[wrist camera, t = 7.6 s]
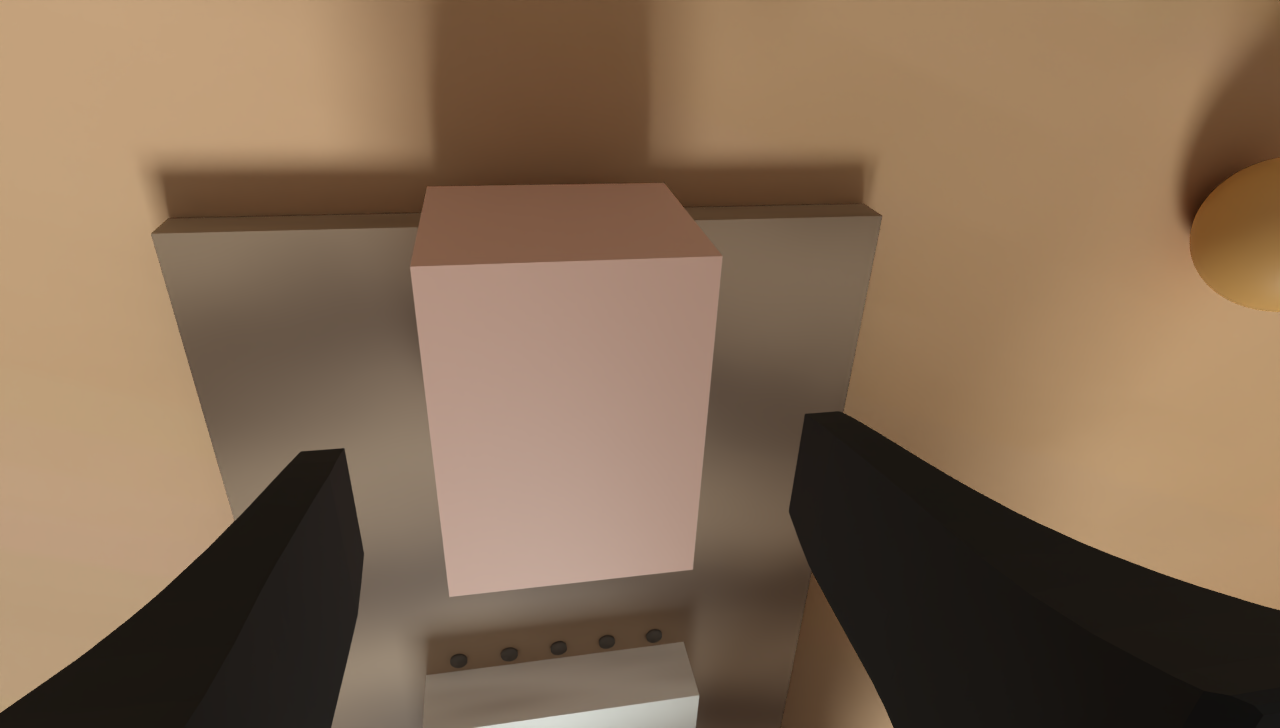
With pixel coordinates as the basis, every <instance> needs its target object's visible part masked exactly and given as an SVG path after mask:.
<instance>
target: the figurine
mask: <svg viewBox="0 0 1280 728" xmlns="http://www.w3.org/2000/svg"><path fill="white" fill-rule="evenodd" d="M1190 252H1191V257H1192V260H1193V263H1194V266H1195V268H1196V270H1197V272H1198V273H1199V275H1200V276H1201V278H1202V279H1203V280H1204V281H1205V283H1206V284H1207V285H1208V286H1209V287H1210V288H1211V289H1213V290H1214V291H1215V292H1216V293H1218V294H1219V295H1221V296H1222V297H1224V298H1226V299H1228V300H1229V301H1232V302H1234V303H1236V304H1239V305H1241V306H1244V307H1248V308H1252V309H1256V310H1262V311H1272V312H1280V157H1279V158H1274V159H1270V160H1266V161H1263V162H1260V163H1257V164H1254V165H1252V166H1249V167H1247V168H1245V169H1243V170H1241V171H1239V172H1237V173H1236V174H1234V175H1232V176H1231V177H1229V178H1228V179H1226V180H1225V181H1224V182H1222V183H1221V184H1220V185H1219V186H1218V187H1217V188H1215V189H1214V190H1213V191H1212V192H1211V194H1210V195H1209V196H1208V197H1207V198H1206V199H1205V201H1204V202H1203V204H1202V205H1201V207H1200V208H1199V210H1198V212H1197V214H1196V216H1195V218H1194V221H1193V224H1192V228H1191V232H1190Z"/></svg>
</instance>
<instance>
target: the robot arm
mask: <svg viewBox="0 0 1280 728" xmlns="http://www.w3.org/2000/svg"><path fill="white" fill-rule="evenodd" d="M789 514H790V517H791V520H792V523H793V525H794V528H795V531H796V534H797V537H798V539H799V542H800V545H801V547H802V550H803V552H804V555H805V557H806V560H807V562H808V565H809V567H810V568H811V570H812V572H813V574H814V576H815V578H816V580H817V582H818V584H819V585H820V587H821V589H822V591H823V593H824V595H825V597H826V598H827V600H828V602H829V604H830V606H831V608H832V610H833V611H834V613H835V615H836V617H837V619H838V620H839V622H840V624H841V626H842V628H843V629H844V631H845V633H846V635H847V637H848V639H849V640H850V642H851V644H852V646H853V648H854V649H855V651H856V653H857V655H858V657H859V658H860V660H861V662H862V664H863V666H864V668H865V669H866V671H867V673H868V675H869V677H870V678H871V680H872V682H873V684H874V686H875V688H876V690H877V692H878V694H879V696H880V698H881V700H882V702H883V704H884V706H885V709H886V711H887V713H888V716H889V718H890V720H891V723H892V725H893V727H894V728H1280V610H1276V609H1272V608H1269V607H1265V606H1261V605H1258V604H1254V603H1251V602H1248V601H1244V600H1241V599H1238V598H1235V597H1231V596H1228V595H1225V594H1222V593H1218V592H1215V591H1212V590H1209V589H1205V588H1202V587H1199V586H1196V585H1193V584H1190V583H1187V582H1184V581H1181V580H1178V579H1175V578H1172V577H1169V576H1166V575H1164V574H1161V573H1158V572H1155V571H1153V570H1150V569H1147V568H1145V567H1142V566H1139V565H1137V564H1134V563H1131V562H1129V561H1126V560H1123V559H1121V558H1118V557H1116V556H1113V555H1110V554H1108V553H1105V552H1103V551H1100V550H1098V549H1096V548H1093V547H1091V546H1088V545H1086V544H1083V543H1081V542H1079V541H1076V540H1074V539H1072V538H1070V537H1068V536H1066V535H1063V534H1061V533H1059V532H1057V531H1055V530H1052V529H1050V528H1048V527H1046V526H1044V525H1041V524H1039V523H1037V522H1035V521H1033V520H1031V519H1029V518H1027V517H1025V516H1023V515H1021V514H1018V513H1016V512H1014V511H1013V510H1011V509H1009V508H1007V507H1005V506H1003V505H1001V504H999V503H997V502H996V501H994V500H992V499H990V498H988V497H986V496H984V495H983V494H981V493H979V492H977V491H975V490H973V489H971V488H970V487H968V486H966V485H964V484H963V483H961V482H959V481H957V480H956V479H954V478H952V477H950V476H949V475H947V474H945V473H944V472H942V471H940V470H938V469H937V468H935V467H933V466H932V465H930V464H928V463H927V462H925V461H923V460H922V459H920V458H919V457H917V456H915V455H914V454H912V453H910V452H909V451H907V450H905V449H904V448H902V447H901V446H899V445H897V444H896V443H894V442H892V441H891V440H889V439H888V438H886V437H884V436H883V435H881V434H879V433H878V432H876V431H874V430H873V429H871V428H869V427H868V426H866V425H864V424H863V423H861V422H859V421H857V420H856V419H854V418H852V417H850V416H848V415H846V414H844V413H842V412H840V411H835V412H822V413H808V414H805V416H804V422H803V428H802V434H801V440H800V446H799V452H798V458H797V464H796V470H795V476H794V482H793V488H792V494H791V500H790V506H789ZM363 561H364V550H363V545H362V539H361V534H360V529H359V523H358V518H357V512H356V507H355V502H354V496H353V491H352V486H351V480H350V475H349V470H348V464H347V459H346V454H345V448H339V449H326V450H312V451H301V452H300V453H299V454H298V455H297V456H296V457H295V458H294V459H293V460H292V461H291V462H290V463H289V464H288V465H287V466H286V467H285V468H284V469H283V470H282V471H281V472H280V473H279V474H278V476H277V477H276V478H275V479H274V480H273V481H272V482H271V483H270V484H269V485H268V486H267V487H266V488H265V490H264V491H263V492H262V493H261V494H260V495H259V496H258V497H257V498H256V499H255V500H254V501H253V502H252V503H251V504H250V506H249V507H248V508H247V509H246V510H245V511H244V512H243V513H242V514H241V515H240V516H239V517H238V518H237V519H236V520H235V521H234V522H233V523H232V524H231V525H230V526H229V527H228V528H227V529H226V530H225V531H224V532H223V533H222V534H221V535H220V536H219V537H218V539H217V540H216V541H215V542H214V543H213V544H212V545H211V546H210V547H209V548H208V549H207V550H206V551H204V552H203V553H202V554H201V555H200V556H199V557H198V558H197V559H196V560H195V561H194V562H193V563H192V564H190V565H189V566H188V567H187V568H186V569H185V570H184V571H183V572H182V573H181V574H180V575H179V576H178V577H177V578H175V579H174V580H173V581H172V582H171V583H170V584H169V585H168V586H167V587H166V588H165V589H164V590H163V591H161V592H160V593H159V594H158V595H157V596H156V597H154V598H153V599H152V600H151V601H150V602H149V603H148V604H146V605H145V606H144V607H143V608H142V609H140V610H139V611H138V612H137V613H136V614H134V615H133V616H132V617H131V618H130V619H128V620H127V621H126V622H125V623H123V624H122V625H121V626H119V627H118V628H117V629H116V630H114V631H113V632H112V633H111V634H109V635H108V636H107V637H106V638H104V639H103V640H102V641H100V642H99V643H98V644H97V645H95V646H94V647H93V648H92V649H90V650H89V651H88V652H86V653H85V654H84V655H82V656H81V657H80V658H78V659H77V660H76V661H74V662H73V663H71V664H70V665H68V666H67V667H66V668H64V669H63V670H61V671H60V672H58V673H57V674H56V675H54V676H53V677H51V678H50V679H48V680H47V681H46V682H44V683H43V684H41V685H40V686H38V687H37V688H36V689H34V690H33V691H31V692H30V693H28V694H27V695H25V696H24V697H23V698H21V699H20V700H18V701H17V702H15V703H14V704H13V705H11V706H10V707H8V708H7V709H5V710H4V711H3V712H1V713H0V728H331V726H332V722H333V718H334V714H335V710H336V705H337V701H338V697H339V693H340V689H341V685H342V681H343V676H344V672H345V668H346V664H347V660H348V655H349V651H350V647H351V643H352V638H353V634H354V630H355V625H356V621H357V616H358V609H359V600H360V591H361V582H362V571H363Z"/></svg>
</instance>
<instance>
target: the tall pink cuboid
mask: <svg viewBox="0 0 1280 728" xmlns="http://www.w3.org/2000/svg"><path fill="white" fill-rule="evenodd" d="M722 258H723V256H722V255H721V253H720V252H719V251H718V250H717V248H716V247H715V246H714V245H713V243H712V242H711V241H710V240H709V238H708V237H707V236H706V235H705V233H704V232H703V231H702V230H701V228H700V227H699V226H698V225H697V223H696V222H695V221H694V220H693V218H692V217H691V216H690V215H689V213H688V212H687V211H686V210H685V208H684V207H683V206H682V205H681V203H680V202H679V201H678V200H677V198H676V197H675V196H674V194H673V193H672V192H671V191H670V189H669V188H668V187H667V186H666V184H665V183H625V184H557V185H490V186H427V189H426V193H425V198H424V203H423V207H422V212H421V217H420V222H419V226H418V231H417V236H416V241H415V245H414V250H413V255H412V259H411V264H410V271H411V280H412V288H413V296H414V305H415V313H416V322H417V330H418V338H419V347H420V355H421V363H422V372H423V380H424V389H425V397H426V405H427V414H428V422H429V431H430V439H431V447H432V456H433V464H434V472H435V481H436V489H437V498H438V506H439V514H440V523H441V531H442V539H443V548H444V556H445V565H446V573H447V581H448V590H449V597H454V596H463V595H472V594H481V593H490V592H498V591H507V590H516V589H525V588H534V587H543V586H552V585H561V584H570V583H579V582H587V581H596V580H605V579H614V578H623V577H632V576H641V575H650V574H659V573H667V572H676V571H685V570H693V563H694V552H695V542H696V531H697V521H698V510H699V499H700V489H701V478H702V468H703V457H704V447H705V436H706V426H707V415H708V405H709V394H710V384H711V373H712V363H713V352H714V342H715V331H716V321H717V310H718V300H719V289H720V279H721V268H722Z"/></svg>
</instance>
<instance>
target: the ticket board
mask: <svg viewBox="0 0 1280 728" xmlns="http://www.w3.org/2000/svg"><path fill="white" fill-rule="evenodd" d="M684 208H685V210H686V211H687V212H688V213H689V215H690V216H691V217H692V218H693V220H694V221H695V222H696V223H697V225H698V226H699V227H700V228H701V230H702V231H703V232H704V233H705V235H706V236H707V237H708V238H709V240H710V241H711V242H712V243H713V245H714V246H715V247H716V248H717V250H718V251H719V252H720V253H721V255H722V256H723V258H722V268H721V279H720V289H719V300H718V310H717V321H716V331H715V342H714V352H713V363H712V373H711V384H710V394H709V405H708V415H707V426H706V436H705V447H704V457H703V468H702V478H701V489H700V499H699V510H698V521H697V531H696V542H695V552H694V563H693V570H685V571H676V572H667V573H659V574H650V575H641V576H632V577H623V578H614V579H605V580H596V581H587V582H579V583H570V584H561V585H552V586H543V587H534V588H525V589H516V590H507V591H498V592H490V593H481V594H472V595H463V596H454V597H449V590H448V581H447V573H446V565H445V556H444V548H443V539H442V531H441V523H440V514H439V506H438V498H437V489H436V481H435V472H434V464H433V456H432V447H431V439H430V431H429V422H428V414H427V405H426V397H425V389H424V380H423V372H422V363H421V355H420V347H419V338H418V330H417V322H416V313H415V305H414V296H413V288H412V280H411V271H410V264H411V259H412V255H413V250H414V245H415V241H416V236H417V231H418V226H419V222H420V217H421V213H399V214H352V215H304V216H257V217H210V218H168V219H167V220H166V221H165V222H164V223H163V224H162V225H160V226H159V227H158V228H157V229H156V230H155V231H154V232H152V233H151V236H152V239H153V242H154V246H155V249H156V253H157V256H158V260H159V263H160V266H161V270H162V273H163V277H164V280H165V284H166V287H167V291H168V294H169V297H170V301H171V304H172V308H173V311H174V315H175V318H176V321H177V325H178V328H179V332H180V335H181V339H182V342H183V346H184V349H185V352H186V356H187V359H188V363H189V366H190V370H191V373H192V376H193V380H194V383H195V387H196V390H197V394H198V397H199V401H200V404H201V407H202V411H203V414H204V418H205V421H206V425H207V428H208V431H209V435H210V438H211V442H212V445H213V449H214V452H215V455H216V459H217V462H218V466H219V469H220V473H221V476H222V480H223V483H224V486H225V490H226V493H227V497H228V500H229V504H230V507H231V510H232V514H233V517H234V521H235V520H236V519H237V518H238V517H239V516H240V515H241V514H242V513H243V512H244V511H245V510H246V509H247V508H248V507H249V506H250V504H251V503H252V502H253V501H254V500H255V499H256V498H257V497H258V496H259V495H260V494H261V493H262V492H263V491H264V490H265V488H266V487H267V486H268V485H269V484H270V483H271V482H272V481H273V480H274V479H275V478H276V477H277V476H278V474H279V473H280V472H281V471H282V470H283V469H284V468H285V467H286V466H287V465H288V464H289V463H290V462H291V461H292V460H293V459H294V458H295V457H296V456H297V455H298V454H299V453H300V452H301V451H312V450H326V449H339V448H345V454H346V459H347V464H348V470H349V475H350V480H351V486H352V491H353V496H354V502H355V507H356V512H357V518H358V523H359V529H360V534H361V539H362V545H363V550H364V561H363V571H362V582H361V591H360V600H359V609H358V616H357V621H356V625H355V630H354V634H353V638H352V643H351V647H350V651H349V655H348V660H347V664H346V668H345V672H344V676H343V681H342V685H341V689H340V693H339V697H338V701H337V705H336V710H335V714H334V718H333V722H332V726H331V728H781V723H782V718H783V713H784V708H785V703H786V698H787V693H788V688H789V683H790V678H791V673H792V668H793V663H794V657H795V652H796V647H797V642H798V637H799V632H800V627H801V622H802V617H803V612H804V607H805V602H806V597H807V592H808V587H809V582H810V577H811V572H812V570H811V568H810V567H809V565H808V562H807V560H806V557H805V555H804V552H803V550H802V547H801V545H800V542H799V539H798V537H797V534H796V531H795V528H794V525H793V523H792V520H791V517H790V514H789V506H790V500H791V494H792V488H793V482H794V476H795V470H796V464H797V458H798V452H799V446H800V440H801V434H802V428H803V422H804V416H805V414H808V413H822V412H835V411H840V412H842V413H843V411H844V406H845V401H846V396H847V391H848V386H849V381H850V376H851V371H852V366H853V361H854V356H855V351H856V346H857V341H858V335H859V330H860V325H861V320H862V315H863V310H864V305H865V300H866V295H867V290H868V285H869V280H870V275H871V270H872V265H873V260H874V255H875V250H876V245H877V240H878V235H879V230H880V225H881V220H882V215H880V214H879V213H877V212H876V211H874V210H873V209H871V208H870V207H868V206H867V205H865V204H825V205H777V206H730V207H684Z"/></svg>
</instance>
